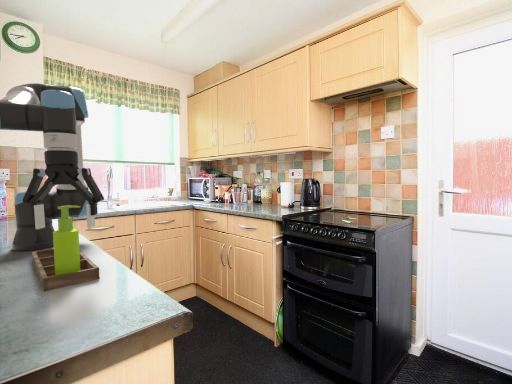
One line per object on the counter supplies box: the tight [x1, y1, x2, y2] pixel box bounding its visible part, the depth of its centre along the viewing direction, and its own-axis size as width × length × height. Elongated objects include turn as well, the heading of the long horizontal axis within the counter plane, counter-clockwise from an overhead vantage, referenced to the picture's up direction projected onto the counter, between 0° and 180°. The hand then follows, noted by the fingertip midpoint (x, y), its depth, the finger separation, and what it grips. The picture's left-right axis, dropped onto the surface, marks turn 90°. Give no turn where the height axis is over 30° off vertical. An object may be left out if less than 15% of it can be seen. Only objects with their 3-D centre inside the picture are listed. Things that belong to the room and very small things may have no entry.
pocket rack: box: [31, 248, 101, 292], centre depth 89 cm, size 36×12×3 cm, turn 41°
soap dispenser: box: [53, 205, 81, 276], centre depth 80 cm, size 6×7×20 cm
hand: (66, 227), depth 80 cm, fingers open, 13 cm apart
